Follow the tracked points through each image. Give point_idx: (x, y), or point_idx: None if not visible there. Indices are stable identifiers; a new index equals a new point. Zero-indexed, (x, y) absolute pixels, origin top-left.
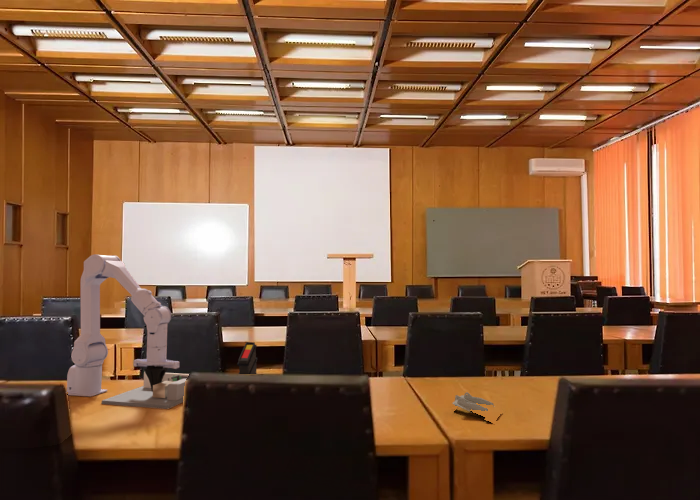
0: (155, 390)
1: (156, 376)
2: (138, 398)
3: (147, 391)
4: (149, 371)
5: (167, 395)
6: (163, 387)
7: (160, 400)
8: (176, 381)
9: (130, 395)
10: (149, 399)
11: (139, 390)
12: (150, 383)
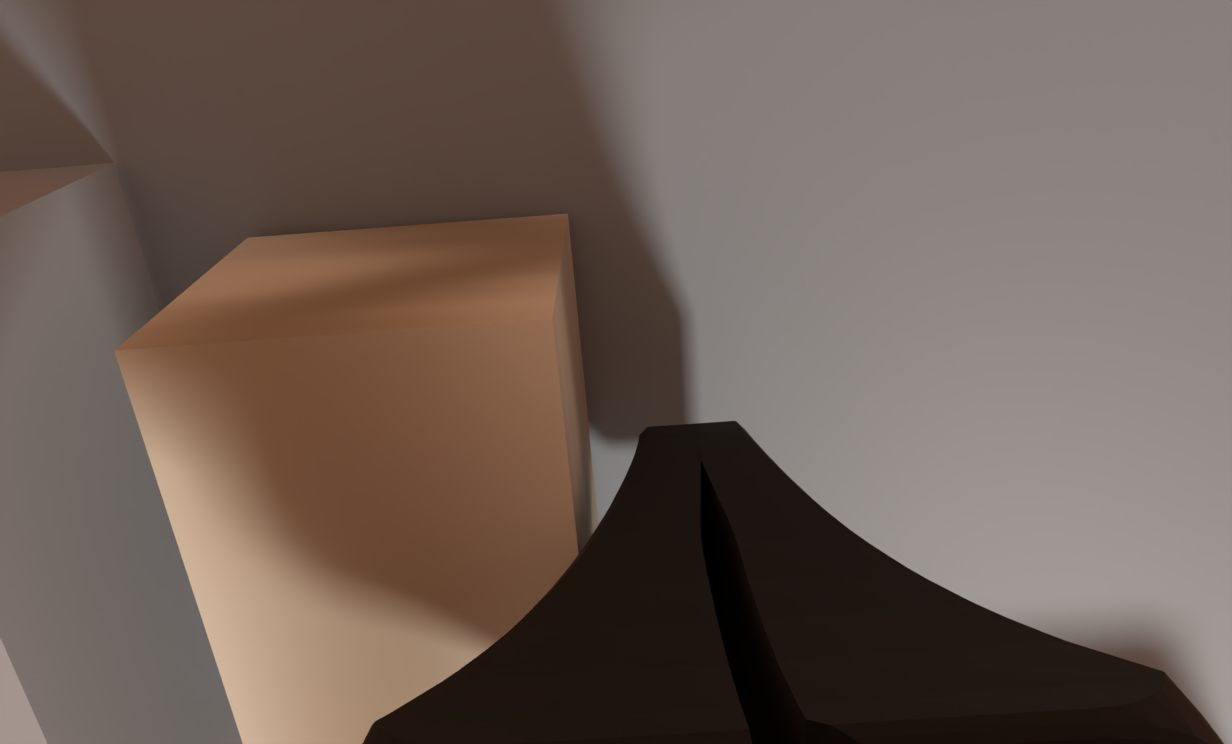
0: (472, 270)
1: (545, 632)
2: (858, 44)
3: (1018, 616)
4: (865, 695)
5: (59, 192)
6: (181, 326)
7: (210, 56)
8: (10, 712)
9: (1209, 232)
10: (533, 51)
11: (1221, 631)
12: (793, 494)
